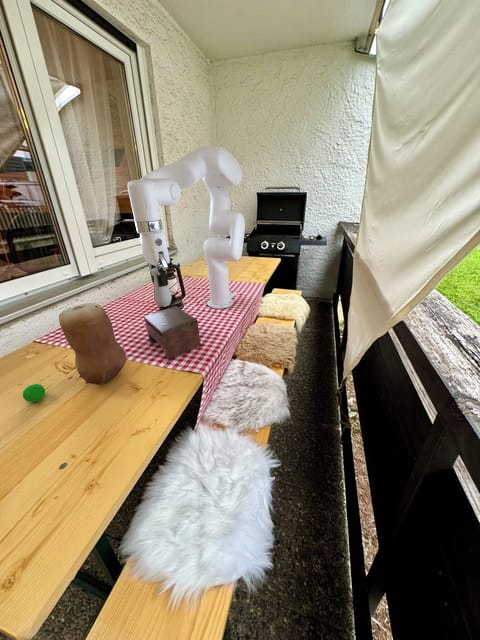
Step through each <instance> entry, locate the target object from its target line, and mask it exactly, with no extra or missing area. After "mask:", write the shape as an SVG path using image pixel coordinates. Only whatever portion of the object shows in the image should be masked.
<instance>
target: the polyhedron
mask: <svg viewBox="0 0 480 640" xmlns="http://www.w3.org/2000/svg"><path fill="white" fill-rule="evenodd" d="M45 395H46V389H45V387H44V386H43V385H42V384H39V383H35V384H33V383H32V384H30V385H28V386H27V387H25V389H24V390H23V391H22V398H23V399H24V400H25V401H26V402H29V403H35V402H38V401H40V400H42V399H43V398H44V396H45Z"/></svg>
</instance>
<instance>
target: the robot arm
mask: <svg viewBox="0 0 480 640" xmlns="http://www.w3.org/2000/svg"><path fill="white" fill-rule="evenodd" d="M201 179H202V182H203V183H204V185H205V187H206V189H207V192H208V194H209V197H210V207H209V217H208V218H209V219H208V226H209V227H208V229H209V231H210V233H212V234H214V235H221V236H229V237H230V238H228V237H218V236H217V237H215V236H214V237H209V238H207V239H205V241H204V242H203V247H202V249H203V254H204V257H205V261H206V267H207V276H208V277H207V278H208V287H209V288H208V289H209V299H208V300H207V301H206V302H207V303H206V304H207V306H208V307H209V308H212V309H216V310H217V309H219V310H220V309H227V308H230V307H231V306H232V305H233V304H234V299H233V297H237V296H238V292H237V291H234V292H232V291H230V277H229V274H230V273H229V267H228V264H227V262H238V261H240V259H241V258H242V256H243V251H244V250H243V249H244V240H245V234H246V233H245V231H246V220H245V217H244V215H243V214H242V213H241V212H240V211H231V197H230V195H229V193H228V192H227V190H226V188H225V187H237V186H238V185H240V183H241V182H242V180H243V169H242V167H241V165H240V163H239V161H238V160H236V158H235V157H234V156H233V155H232V154H231V153H230V151H228V150H227V149H226V148H224V147H223V146H221V145H209V146H199V147H196V148H194V149H192V150H191V151H189V152H188V153H187V154H185V155H184V156H182V157H181V158H179V159H177V160H175V161H173V162H170V163H168V164H166V165H163V166H161V167H159V168H155V169H153V170H151V171H149V172H148V173H146V174H144V175H143V176H142V177H140V178H139V179H133V180H130V181H128V182H127V192H128V196H129V199H130V201H129V202H130V205H131V209H132V214H133V219H134V224H135V228H136V233H137V234H139V238H140V239H139V240H140V245H141V250H142V255H143V259H144V261H145V262H146V263H147V265H148V270H149V273H150V278H151V282H152V284H154V276H152V274H151V270H152V269H153V268H155V267H156V271H157V274H158V275H157V280H158V285H159V287H163V286H167V285H168V286H169V279H168V272H167V270H168V268H169V266H168V265H169V264H171V259H170V254H169V250H168V245H167V240H166V238H165V237H166V236H165V234H164V228H163V222H162V215H161V210H160V206H161V207H171V206H175V205H176V204H177V203H178V202H179V201H180V199H181V197H182V191H181V190H185V189H188V188H191V187H193V186H194V185H195V184H197V182H199V181H201ZM159 267H162V268H160V270H159Z"/></svg>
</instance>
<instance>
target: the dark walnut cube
mask: <svg viewBox="0 0 480 640" xmlns="http://www.w3.org/2000/svg"><path fill="white" fill-rule="evenodd" d="M143 319H144V323H145V328H146V333H147V336H148V341H149V342H150V343H154V342H157V343H158V344H159V346H161V347H162V348H163V349H164V352H165V355H166V360H167V361H171V360H173V359H174V358H178V357H180V356H182V355H184V354H186V353H188V352H190V351H191V352H192V351H193V350H195V349H198V348H199V347H201V346H202V345H201V337H200V329H199V321H198V320H199V319H197V318H195V317H194V316H192V315H190V314H189V313H188V312H186V311H184V310H183V309H182V308H180V307H179V306H178V305H174V306H171V307H168V308H165V309H162V310H159V311H155V312H152V313H149V314H147V315H146V314H145V315H144V316H143Z"/></svg>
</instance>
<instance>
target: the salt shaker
mask: <svg viewBox="0 0 480 640" xmlns="http://www.w3.org/2000/svg"><path fill="white" fill-rule="evenodd" d="M160 268H162V267H159V270H160ZM150 272H151V274H152V276H154V283H153V287H154V288H153V289H154V290H153V291H154V292H153V293H154V297H153V298H154V299H153V300H154V302H155V303H156V304H157V305H158V307H162V308H165V307H169V306H170V304H171V302H172V299H173V297H172V294H171V291H170V289H169V284H168V285H167V286H163V287H159V285H158V280H157V275H158V274H157V271H156V267H155V268H153V269H152V270H151V271H150ZM151 274H150V275H151Z"/></svg>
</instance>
